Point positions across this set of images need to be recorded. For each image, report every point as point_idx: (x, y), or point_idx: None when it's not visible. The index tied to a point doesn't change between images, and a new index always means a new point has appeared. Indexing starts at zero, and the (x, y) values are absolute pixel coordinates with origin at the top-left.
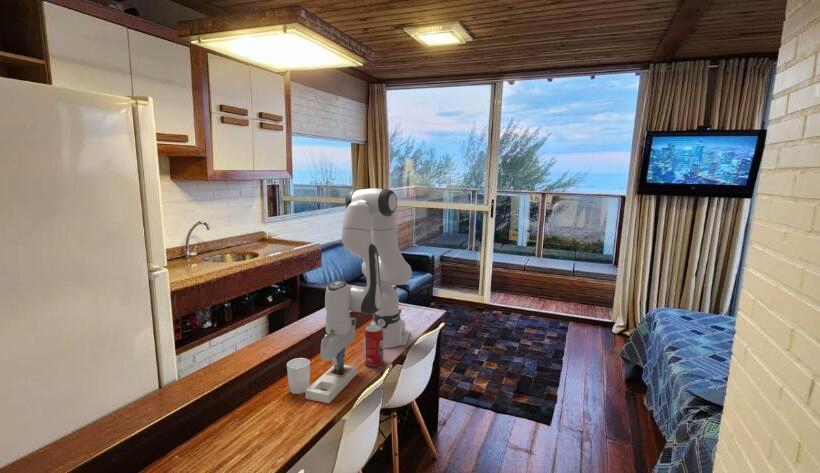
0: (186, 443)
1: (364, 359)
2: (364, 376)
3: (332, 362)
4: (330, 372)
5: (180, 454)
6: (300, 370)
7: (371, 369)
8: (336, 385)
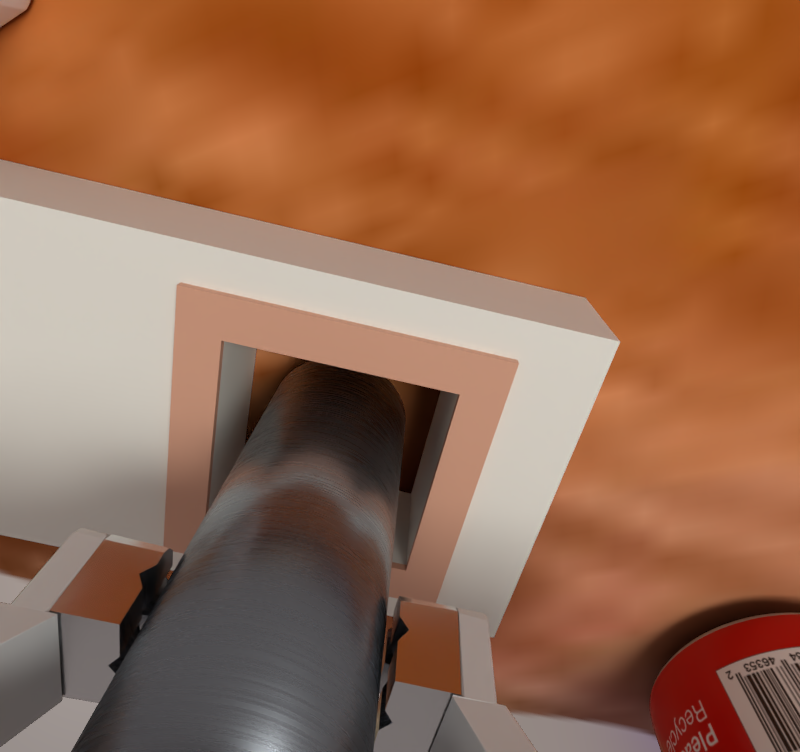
0: None
1: (760, 661)
2: None
3: (50, 562)
4: (256, 347)
5: None
6: None
7: (601, 666)
8: None
